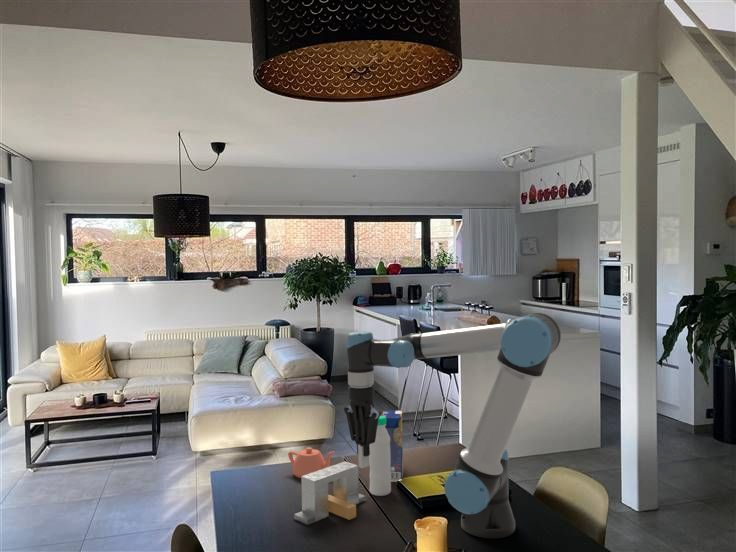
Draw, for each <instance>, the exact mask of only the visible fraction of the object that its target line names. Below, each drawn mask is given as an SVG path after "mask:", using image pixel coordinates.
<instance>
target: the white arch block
mask: <svg viewBox="0 0 736 552" xmlns="http://www.w3.org/2000/svg"><path fill="white" fill-rule="evenodd" d="M300 480H301V481H300V482H301V511H299V512H297V513H294V514H293V519H294V520H295V521H296V522H297V521H298V522H299V523H302V524H304V525H307V526H309V525H311V524H313V523H316V522H318V521H320V520H322V519H325V518H327V517H330V515H329V513H330V512H329V511H328V494H329V484H330V483H332V484H333V485H332V487H333V488H332V489H333V490H332V493H333V495H332V496H334V497H336V498H339V499H342V500H344V501H347V502H349V503H352V504H355V505H356V506H357V505H358V504H361V503H363V502H365V501H367V500H366V495H364V494H362V493H359V492H360V491H359V484H360V483H359V464H358V465H357V464H355V463H352V462H348V461H342V462H339V463H336V464H333V465H329V467H327V468H324V469H321V470H318V471H315V472H312V473H310V474H307V475H304V476H301V479H300Z"/></svg>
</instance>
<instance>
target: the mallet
mask: <svg viewBox="0 0 736 552" xmlns="http://www.w3.org/2000/svg"><path fill="white" fill-rule="evenodd" d="M328 511H329V513H332V514H334V515H336V516H338V517H341V518H344V519H347V520H353V519H354V518H357V504H356V505H355V504H352V503H349V502H347V501H344V500H342V499H339V498H336V497H334V496H333V495H331V494H329V493H328Z"/></svg>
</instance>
